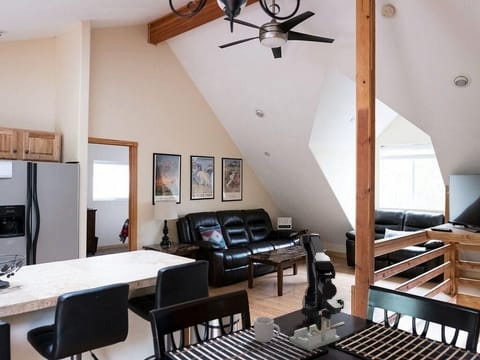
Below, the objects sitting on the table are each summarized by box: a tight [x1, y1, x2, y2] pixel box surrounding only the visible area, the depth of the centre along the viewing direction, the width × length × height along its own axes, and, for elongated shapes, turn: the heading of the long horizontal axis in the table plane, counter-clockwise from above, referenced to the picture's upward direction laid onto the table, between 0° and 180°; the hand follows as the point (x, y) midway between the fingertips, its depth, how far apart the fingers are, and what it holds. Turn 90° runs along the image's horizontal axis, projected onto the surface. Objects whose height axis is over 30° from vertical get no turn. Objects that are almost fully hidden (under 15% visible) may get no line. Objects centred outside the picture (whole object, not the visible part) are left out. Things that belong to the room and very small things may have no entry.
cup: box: [253, 316, 281, 343], centre depth 152 cm, size 11×8×8 cm
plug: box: [314, 317, 331, 335], centre depth 154 cm, size 6×3×6 cm, turn 36°
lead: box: [330, 321, 345, 329], centre depth 168 cm, size 8×1×1 cm, turn 126°
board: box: [289, 324, 341, 351], centre depth 153 cm, size 11×17×4 cm, turn 126°
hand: (322, 329), depth 155 cm, fingers open, 3 cm apart
